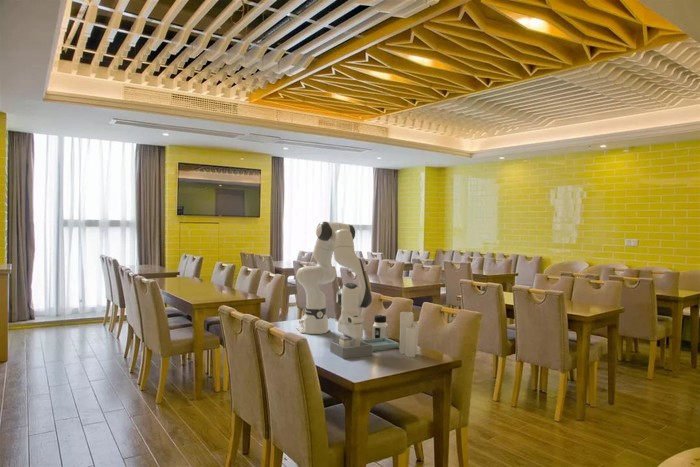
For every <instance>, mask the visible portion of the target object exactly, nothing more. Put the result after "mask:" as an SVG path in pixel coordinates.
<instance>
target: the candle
mask: <svg viewBox="0 0 700 467" xmlns="http://www.w3.org/2000/svg"><path fill="white" fill-rule="evenodd" d="M418 331H419V323H418V322H414V312H412V311H401V312H400V313H399V348H398V349H399V351H398V352H399V353H400V354H401V355H405V357H408V358H415V357H416V355H418V341H419V340H418V338H419V337H418V336H419V335H418V333H419V332H418Z"/></svg>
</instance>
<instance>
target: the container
mask: <svg viewBox="0 0 700 467" xmlns="http://www.w3.org/2000/svg"><path fill="white" fill-rule="evenodd" d="M373 320H374V323H373V325H372V327H371V330H372V331H371V332H372V333H371V339H375V338H384V337H385V338H387V339H388V336H389V334H388V332H389V330H388V329H389V324H388V323H387V316H386V315H385V314H376V315H375V316H374V319H373Z"/></svg>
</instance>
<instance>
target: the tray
mask: <svg viewBox="0 0 700 467" xmlns="http://www.w3.org/2000/svg"><path fill="white" fill-rule="evenodd" d="M360 340H361V341H364V342H366V343H368V344H370V345H372V352H377V351H384V350H393V349H400V342H397V341H395V340H393V339H390V338H388V337H387V338H385V337H384V338H375V339H372V338H367V339H360Z"/></svg>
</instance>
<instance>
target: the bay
mask: <svg viewBox="0 0 700 467" xmlns="http://www.w3.org/2000/svg"><path fill="white" fill-rule="evenodd" d="M361 340H362V339H360V346H355V347H346V348H345V347H343V346H341V345H339V344H338V343H336V342H334V341H330V342H329V344H330V346H329V352H330V353H332V354H334V355H336V356H337V357H339V358H341V359H343V360H347V359H354V358H363V357H370V356H373V351H372V345H370V344H368V343H366V342H364V341H361Z"/></svg>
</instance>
